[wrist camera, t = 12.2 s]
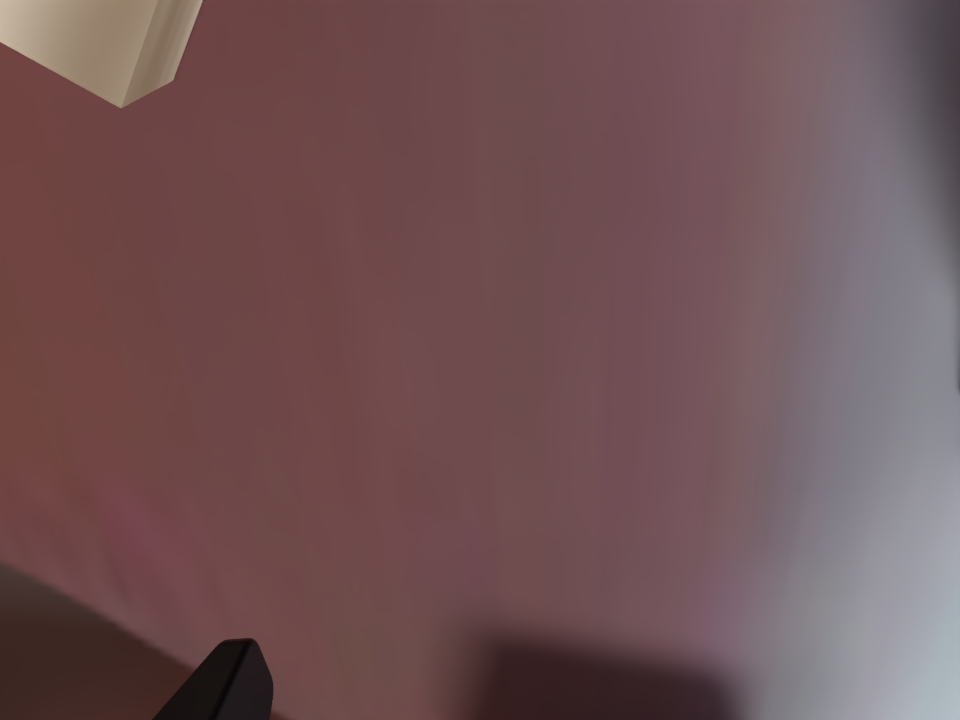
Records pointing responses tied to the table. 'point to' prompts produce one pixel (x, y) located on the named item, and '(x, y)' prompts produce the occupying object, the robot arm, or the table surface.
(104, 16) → the base block
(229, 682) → the robot arm
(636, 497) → the table surface
